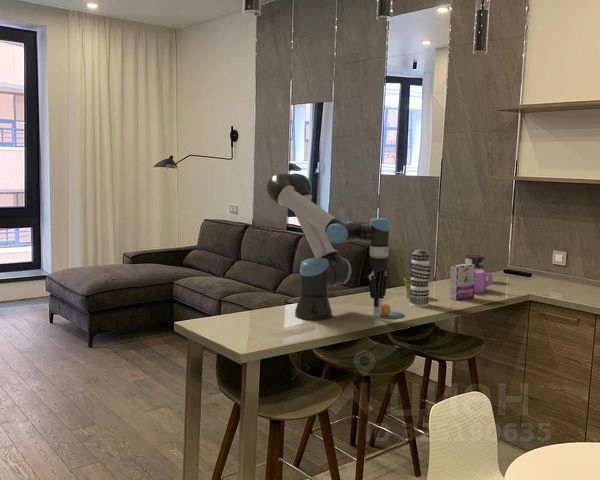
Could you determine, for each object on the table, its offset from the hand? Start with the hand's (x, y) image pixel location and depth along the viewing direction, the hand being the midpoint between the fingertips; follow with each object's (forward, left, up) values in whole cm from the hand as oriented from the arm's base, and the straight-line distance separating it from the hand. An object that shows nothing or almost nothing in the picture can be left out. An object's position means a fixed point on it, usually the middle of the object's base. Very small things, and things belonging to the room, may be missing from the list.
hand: (377, 314), depth 248 cm
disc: (0, +9, -2) cm, 9 cm away
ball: (0, +6, +1) cm, 6 cm away
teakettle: (+1, +85, -2) cm, 85 cm away
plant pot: (-12, +50, -2) cm, 51 cm away
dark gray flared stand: (-10, +114, -2) cm, 114 cm away
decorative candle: (-1, +36, -2) cm, 36 cm away
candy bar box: (+7, +63, -2) cm, 63 cm away
